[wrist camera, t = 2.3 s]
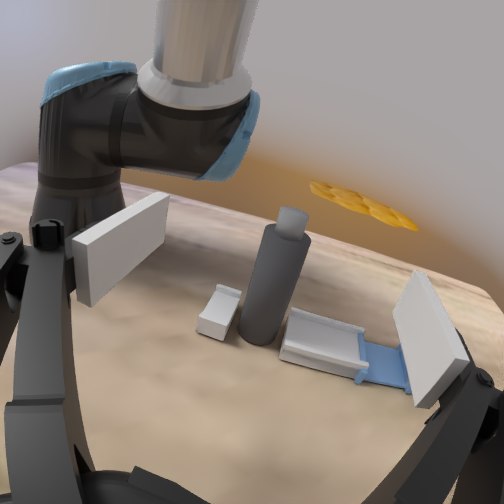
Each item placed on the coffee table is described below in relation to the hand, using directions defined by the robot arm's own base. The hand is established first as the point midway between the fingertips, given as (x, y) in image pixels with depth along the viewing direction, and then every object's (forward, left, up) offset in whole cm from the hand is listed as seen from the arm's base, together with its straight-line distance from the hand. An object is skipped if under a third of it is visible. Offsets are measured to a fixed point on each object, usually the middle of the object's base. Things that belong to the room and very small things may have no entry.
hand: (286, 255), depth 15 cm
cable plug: (0, +10, -14) cm, 17 cm away
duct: (+7, +10, -14) cm, 19 cm away
